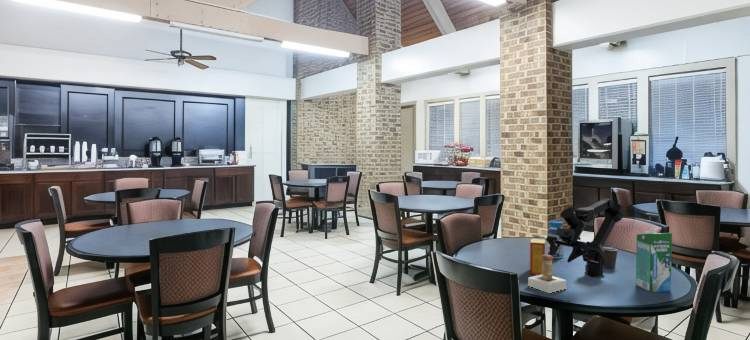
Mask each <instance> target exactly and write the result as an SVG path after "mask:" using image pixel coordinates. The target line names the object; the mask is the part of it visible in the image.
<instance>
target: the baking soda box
mask: <svg viewBox="0 0 750 340" xmlns="http://www.w3.org/2000/svg"><path fill="white" fill-rule="evenodd" d="M529 242H530V246H529V254H530V255H529V258H530V259H529V265H530V266H529V270H530V272H529V274H530V275H532V274H538V275H541V274H542V255H546V238H545V239H543V238H542V239H541V238H531V239H530V241H529Z"/></svg>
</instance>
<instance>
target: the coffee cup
mask: <svg viewBox="0 0 750 340" xmlns="http://www.w3.org/2000/svg"><path fill="white" fill-rule="evenodd" d="M603 250H604V254H603V255H604V256H605V258H606V259H607V262H606V264H605V265H603V268H606V269H615V268H616V264H617V257H618V252H619V249H617V248H616V247H612V246H611V247H610V246H603Z"/></svg>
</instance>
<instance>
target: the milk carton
mask: <svg viewBox="0 0 750 340" xmlns="http://www.w3.org/2000/svg"><path fill="white" fill-rule="evenodd" d="M672 245H673V233H672V232H663V233H662V232H661V233H660V232H659V233H657V230H647V231H646V230H645V233H638V234H636V254H635V255H636V259H635V260H636V263H635V286H637V287H639V288H641V289H643V290H644V291H645V290H646V291H647V292H651V293H657V292H660V293H664V292H665V293H666V292H671V291H672V257H673V256H672V253H673V252H672V251H673V250H672V247H673V246H672Z"/></svg>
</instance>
